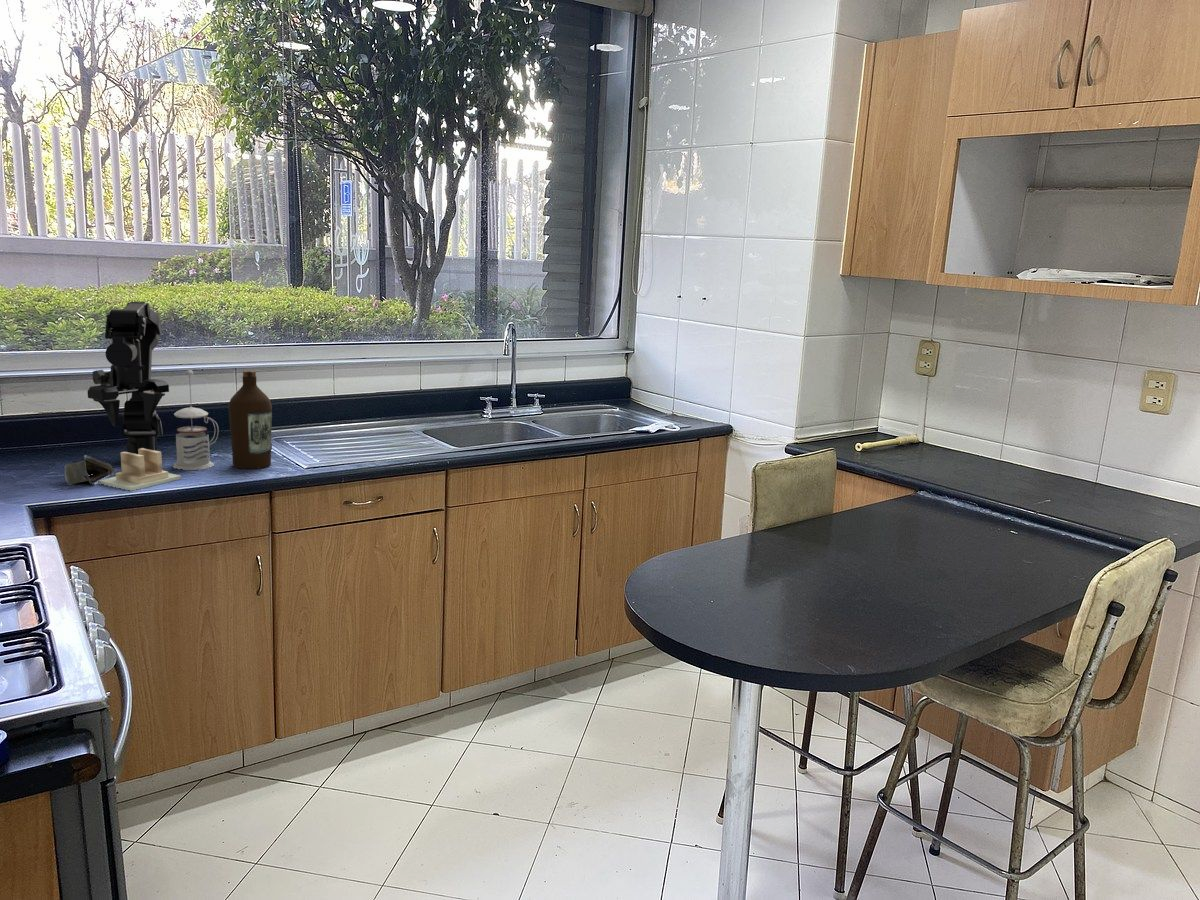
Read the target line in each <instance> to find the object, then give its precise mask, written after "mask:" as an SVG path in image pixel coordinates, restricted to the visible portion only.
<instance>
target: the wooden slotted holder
mask: <svg viewBox="0 0 1200 900" xmlns="http://www.w3.org/2000/svg"><path fill="white" fill-rule="evenodd" d="M162 458H163V456H162V451H159V450H157V451H154V450H149V449H144V448H141V449H138V454H134V453H129V452H127V451H121V452H120V467H121V471H119V472H116V473H115V477H116V479H117V480H121V481H126V482H130V483H135V484H144V483H148V482H152V481H157V480H161V479H165V478H169V477H168V473H169V471H166V470H163V459H162Z"/></svg>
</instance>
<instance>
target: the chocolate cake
mask: <svg viewBox="0 0 1200 900" xmlns="http://www.w3.org/2000/svg"><path fill="white" fill-rule="evenodd" d="M114 473H115V472H114V468H113V466H112V465H111V464H110V463H108V462H104V461H102V460H100V459H97V458H95V457H93V456H90V455H87V454H84V455H83V460H80V461H76V462H72V463H67V464H65V465H64V477H65V478H64V479H65V481H66V483H67V485H68V484H73V485H75V484H81V483H84V482H89V484H90V485H92V486H94V485H93V484H94V483H95V482H97V481H98V480H101V479H102V478H104V477H106V476H108V475H112V476H114ZM91 474H93V475H91ZM88 475H90V476H88Z"/></svg>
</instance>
